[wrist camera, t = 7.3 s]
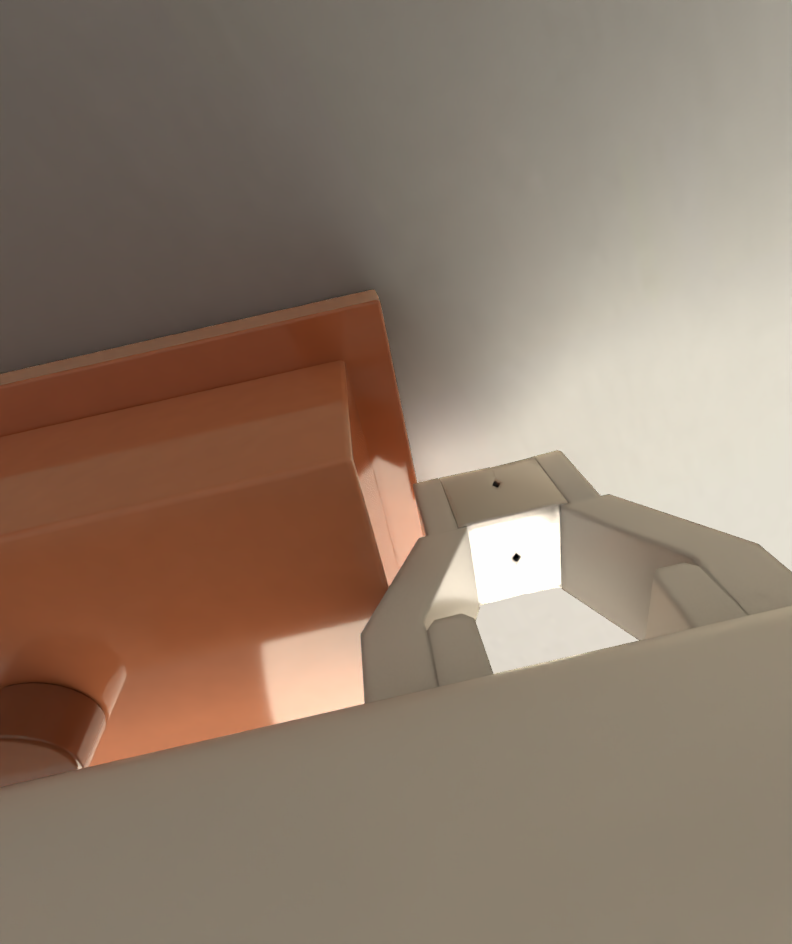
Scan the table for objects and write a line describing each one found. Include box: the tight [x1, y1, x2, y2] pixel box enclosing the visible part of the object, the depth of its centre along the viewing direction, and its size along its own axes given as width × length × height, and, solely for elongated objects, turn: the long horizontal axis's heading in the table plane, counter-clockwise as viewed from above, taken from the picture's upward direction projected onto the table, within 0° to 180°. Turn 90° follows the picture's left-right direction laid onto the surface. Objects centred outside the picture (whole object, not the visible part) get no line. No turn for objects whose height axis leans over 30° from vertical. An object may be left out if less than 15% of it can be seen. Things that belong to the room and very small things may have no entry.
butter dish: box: [0, 289, 423, 787], centre depth 8 cm, size 12×8×5 cm, turn 101°
